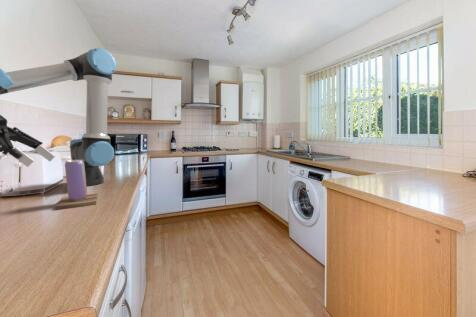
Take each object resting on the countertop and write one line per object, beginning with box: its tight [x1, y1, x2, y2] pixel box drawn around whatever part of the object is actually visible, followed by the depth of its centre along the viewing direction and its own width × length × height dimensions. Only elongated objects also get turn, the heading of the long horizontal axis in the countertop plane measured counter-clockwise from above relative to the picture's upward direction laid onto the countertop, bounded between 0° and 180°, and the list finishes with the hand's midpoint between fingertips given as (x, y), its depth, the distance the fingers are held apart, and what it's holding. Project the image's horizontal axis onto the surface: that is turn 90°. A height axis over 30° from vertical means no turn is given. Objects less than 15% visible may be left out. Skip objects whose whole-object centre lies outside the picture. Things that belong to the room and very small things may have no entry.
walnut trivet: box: [55, 193, 99, 211], centre depth 88 cm, size 12×12×1 cm
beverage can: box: [64, 159, 88, 201], centre depth 88 cm, size 6×6×15 cm
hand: (42, 161), depth 84 cm, fingers open, 13 cm apart
